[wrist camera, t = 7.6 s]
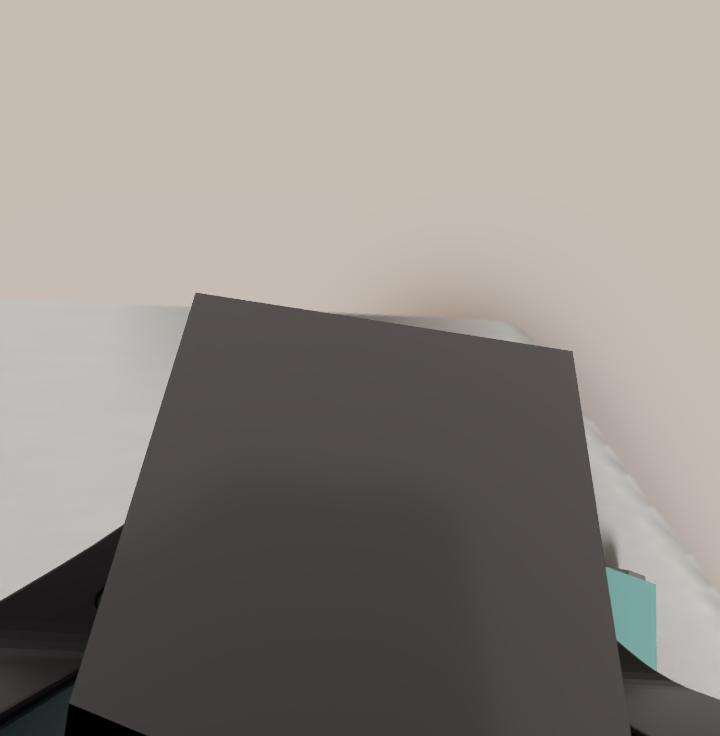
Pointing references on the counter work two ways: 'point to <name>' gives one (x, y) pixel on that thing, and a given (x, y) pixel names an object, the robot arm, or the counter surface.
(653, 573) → the counter surface
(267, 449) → the gray metal handle
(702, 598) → the counter surface
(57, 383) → the counter surface
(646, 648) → the trapdoor
